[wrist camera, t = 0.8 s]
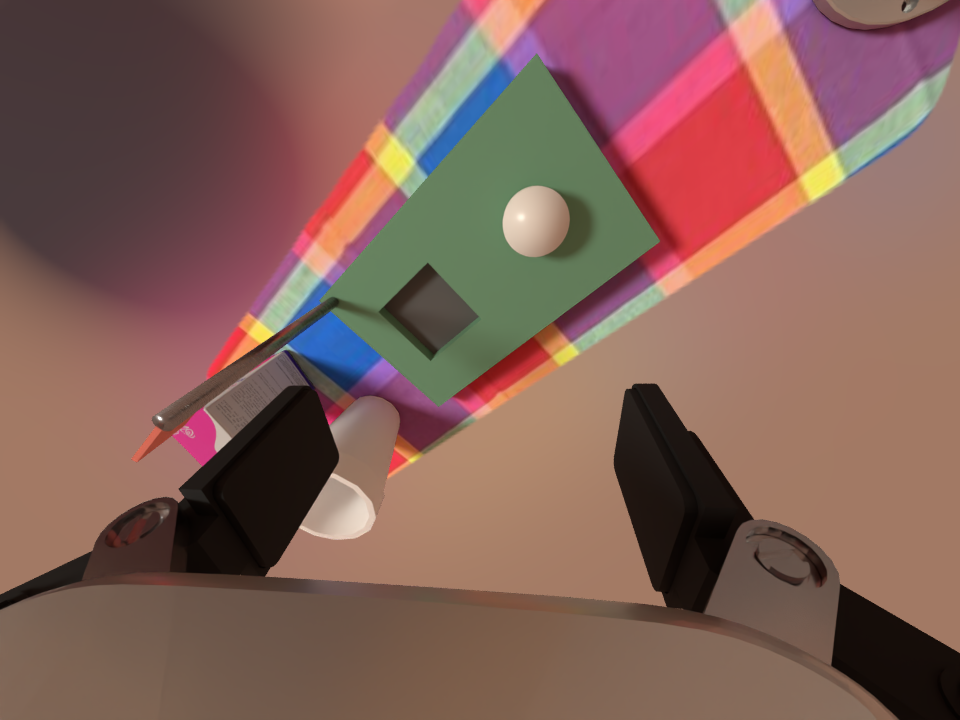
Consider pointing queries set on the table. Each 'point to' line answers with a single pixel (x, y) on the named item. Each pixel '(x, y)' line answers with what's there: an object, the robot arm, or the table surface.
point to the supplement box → (238, 406)
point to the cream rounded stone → (536, 221)
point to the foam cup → (356, 470)
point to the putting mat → (470, 254)
